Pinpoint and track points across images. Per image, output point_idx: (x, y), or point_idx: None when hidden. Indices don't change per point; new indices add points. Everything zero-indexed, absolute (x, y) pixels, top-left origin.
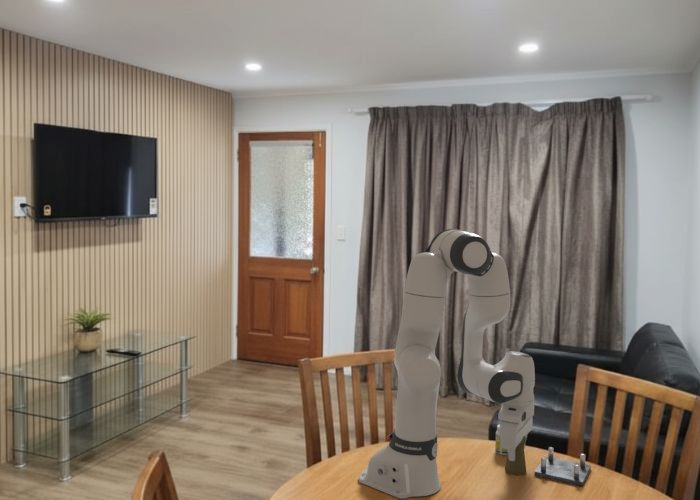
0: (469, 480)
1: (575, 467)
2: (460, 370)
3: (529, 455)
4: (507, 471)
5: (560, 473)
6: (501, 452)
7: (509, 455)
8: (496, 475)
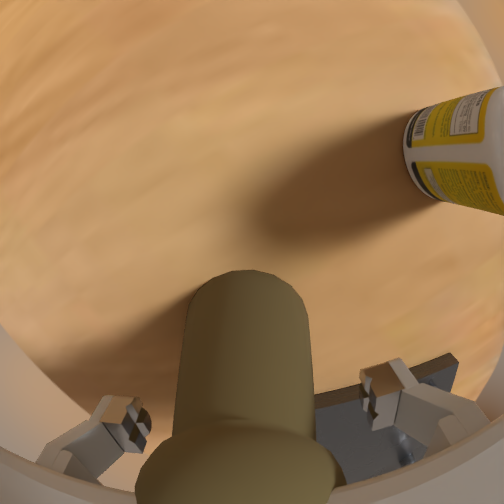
0: (3, 209)
1: None
2: None
3: (467, 282)
4: (188, 308)
5: None
6: (411, 158)
7: (96, 418)
8: (113, 277)
